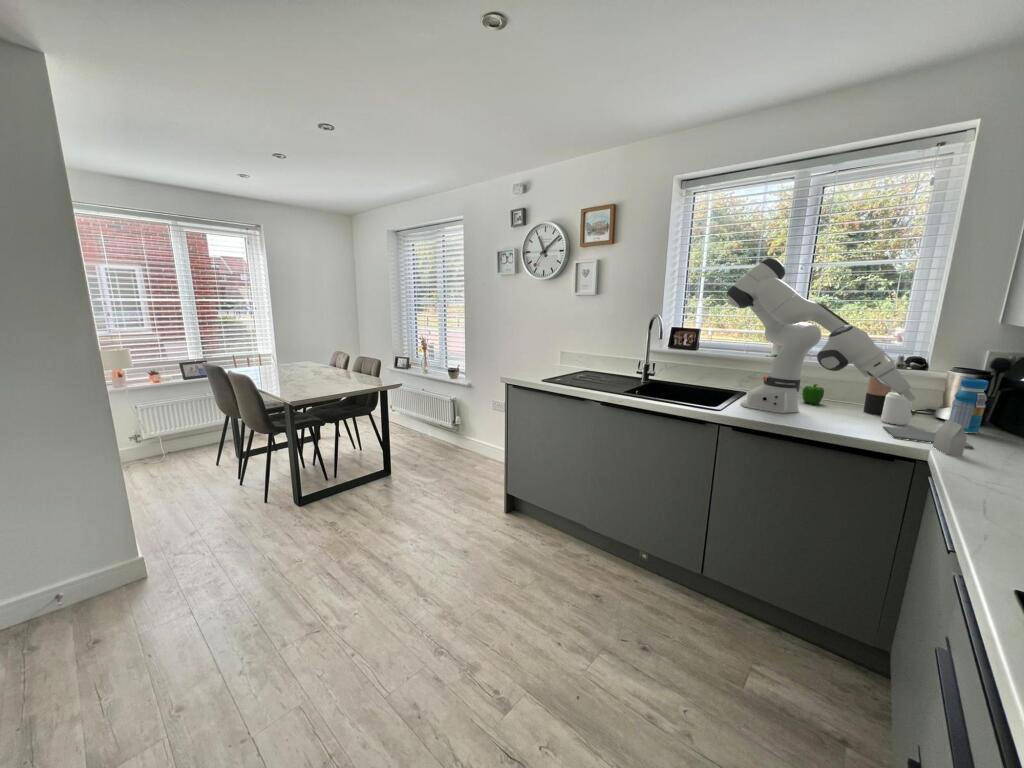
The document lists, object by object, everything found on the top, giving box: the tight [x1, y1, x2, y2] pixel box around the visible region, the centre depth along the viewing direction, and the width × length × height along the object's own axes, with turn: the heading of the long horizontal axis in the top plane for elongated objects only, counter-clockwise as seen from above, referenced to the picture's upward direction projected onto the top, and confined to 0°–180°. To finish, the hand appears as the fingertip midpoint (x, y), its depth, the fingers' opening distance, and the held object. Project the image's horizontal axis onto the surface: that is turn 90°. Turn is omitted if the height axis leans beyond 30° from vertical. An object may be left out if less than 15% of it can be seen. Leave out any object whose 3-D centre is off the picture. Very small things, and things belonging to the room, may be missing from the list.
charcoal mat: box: [882, 426, 974, 450], centre depth 146 cm, size 20×14×1 cm
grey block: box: [932, 419, 967, 458], centre depth 131 cm, size 4×7×10 cm, turn 165°
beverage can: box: [880, 391, 914, 426], centre depth 163 cm, size 8×8×12 cm
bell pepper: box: [802, 382, 825, 405], centre depth 194 cm, size 8×8×10 cm
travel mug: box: [863, 377, 892, 416], centre depth 178 cm, size 8×8×20 cm
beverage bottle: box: [948, 377, 989, 434], centre depth 154 cm, size 8×8×20 cm
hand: (907, 396), depth 135 cm, fingers open, 8 cm apart
